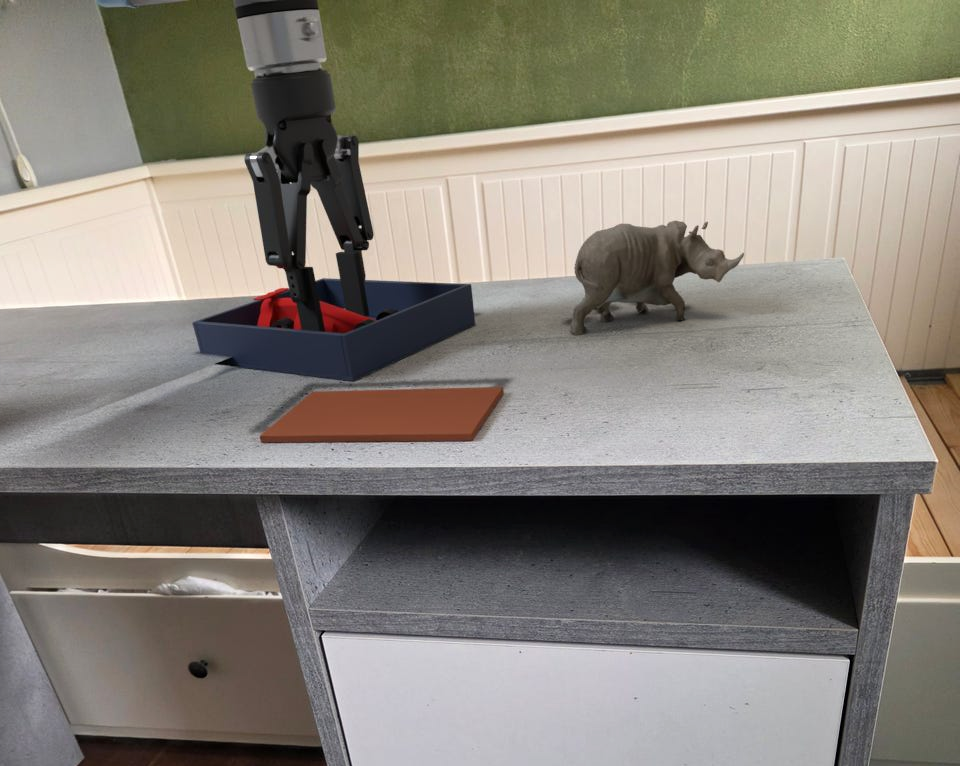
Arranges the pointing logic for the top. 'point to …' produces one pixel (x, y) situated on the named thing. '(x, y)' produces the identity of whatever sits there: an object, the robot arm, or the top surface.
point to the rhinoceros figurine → (642, 268)
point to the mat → (386, 415)
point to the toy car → (334, 318)
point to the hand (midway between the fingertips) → (336, 323)
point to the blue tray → (337, 355)
